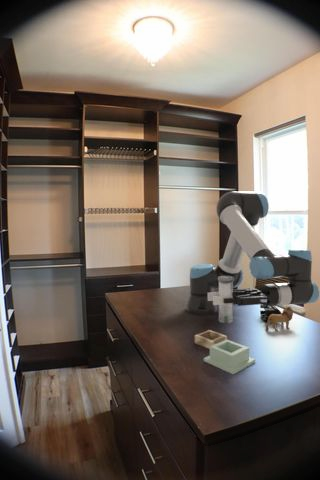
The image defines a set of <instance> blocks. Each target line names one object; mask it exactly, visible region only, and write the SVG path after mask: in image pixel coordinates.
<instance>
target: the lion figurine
mask: <svg viewBox="0 0 320 480" xmlns="http://www.w3.org/2000/svg"><path fill="white" fill-rule="evenodd" d="M281 313H282V314H271V315H270V316H269V318H268V321H267V323H265V331H269V325H270V324H272V328H273V330H274V331H275V332H278V331H279V329H278V328H276V327H277V324H278V323H280V327H281V328H286V329H287V330H290V327H289V324H290V321H291V320H292V319H293V315H294V310H293V308H292V307H291V306H288V305H285V306H284V307H283V310H282V311H281ZM271 322H272V323H271Z"/></svg>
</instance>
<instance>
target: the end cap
mask: <svg viewBox="0 0 320 480" xmlns="http://www.w3.org/2000/svg"><path fill="white" fill-rule="evenodd" d="M259 306H260V307H259V308H260V309H263V310H259V312H260V318H261V319H262V321H263V322H264V323H265V324H267V321H268V318H269V316H270V315H271V314H282V311H281V310H280V309H279V308H278V307H277V306H276V305H275V306H265V305H263V304H259ZM270 324H273V323H272V322H271V323H270Z"/></svg>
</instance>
